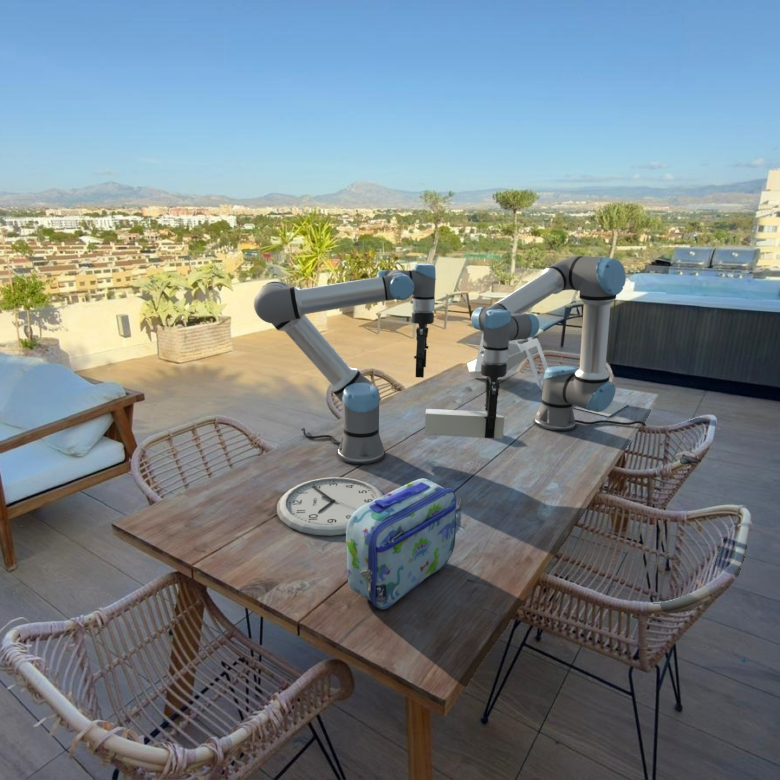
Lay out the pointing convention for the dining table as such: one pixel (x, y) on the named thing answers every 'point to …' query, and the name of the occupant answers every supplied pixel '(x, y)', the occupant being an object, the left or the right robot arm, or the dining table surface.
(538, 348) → the white plastic object
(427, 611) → the dining table surface
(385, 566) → the lunch box
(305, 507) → the wall clock
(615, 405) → the invitation card
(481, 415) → the plank
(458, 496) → the fork
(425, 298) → the left robot arm
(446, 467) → the dining table surface
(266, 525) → the dining table surface
